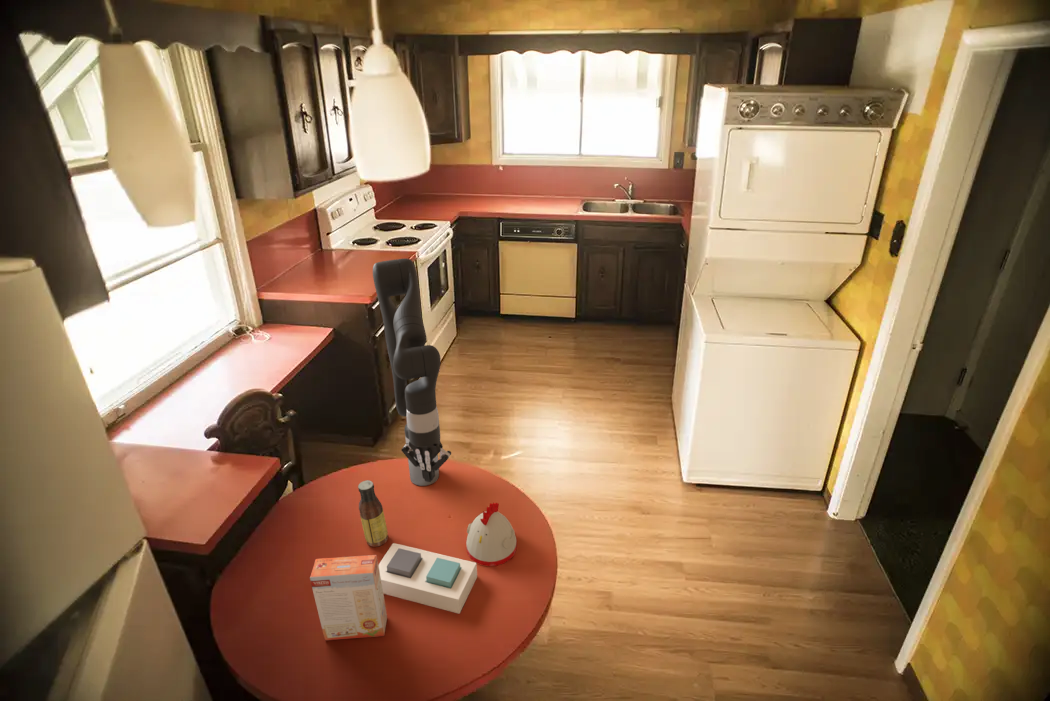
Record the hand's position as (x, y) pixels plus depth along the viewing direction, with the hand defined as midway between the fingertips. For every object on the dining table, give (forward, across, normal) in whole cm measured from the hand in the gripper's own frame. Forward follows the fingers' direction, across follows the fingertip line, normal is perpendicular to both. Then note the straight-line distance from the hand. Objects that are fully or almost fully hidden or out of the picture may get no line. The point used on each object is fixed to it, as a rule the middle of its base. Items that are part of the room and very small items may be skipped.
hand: (429, 479), depth 151 cm
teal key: (+24, -6, +9) cm, 26 cm away
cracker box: (+27, +9, +26) cm, 39 cm away
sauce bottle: (+27, +19, -1) cm, 33 cm away
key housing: (+27, -1, +9) cm, 28 cm away
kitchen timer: (+27, -13, -8) cm, 31 cm away
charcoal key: (+24, +5, +9) cm, 26 cm away
